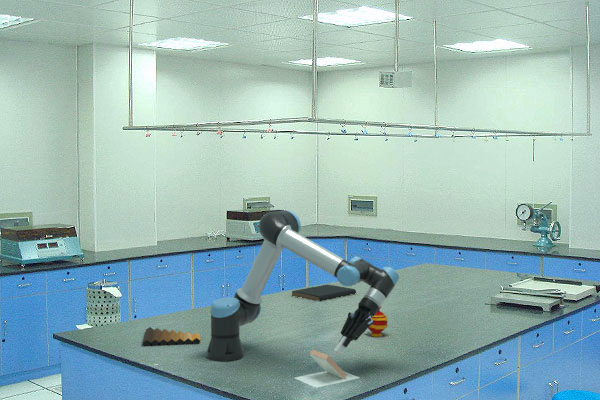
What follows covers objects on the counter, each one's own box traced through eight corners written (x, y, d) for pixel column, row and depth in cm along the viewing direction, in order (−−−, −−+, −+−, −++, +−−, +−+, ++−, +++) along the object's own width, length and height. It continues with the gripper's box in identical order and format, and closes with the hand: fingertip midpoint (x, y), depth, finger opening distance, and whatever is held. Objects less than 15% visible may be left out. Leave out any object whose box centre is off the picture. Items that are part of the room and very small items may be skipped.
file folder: (327, 283, 438) (356, 288, 421) (327, 290, 438) (356, 295, 421) (291, 290, 414) (320, 296, 397) (291, 297, 414) (320, 303, 397)
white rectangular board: (336, 370, 260) (336, 368, 260) (360, 379, 249) (360, 377, 249) (293, 379, 249) (293, 377, 249) (316, 389, 237) (316, 387, 237)
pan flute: (146, 334, 321) (142, 347, 296) (145, 327, 321) (142, 340, 296) (199, 332, 325) (200, 345, 300) (199, 325, 325) (200, 337, 300)
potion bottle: (375, 331, 322) (375, 300, 322) (392, 335, 315) (392, 303, 314) (360, 335, 316) (360, 303, 315) (376, 339, 308) (377, 306, 307)
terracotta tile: (330, 368, 256) (312, 349, 251) (347, 375, 248) (328, 355, 243) (327, 373, 255) (309, 353, 250) (343, 379, 247) (325, 360, 242)
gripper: (388, 311, 255) (354, 362, 247) (365, 305, 266) (331, 354, 257) (377, 299, 252) (342, 350, 243) (355, 293, 263) (320, 342, 254)
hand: (337, 352), depth 250 cm, fingers closed
